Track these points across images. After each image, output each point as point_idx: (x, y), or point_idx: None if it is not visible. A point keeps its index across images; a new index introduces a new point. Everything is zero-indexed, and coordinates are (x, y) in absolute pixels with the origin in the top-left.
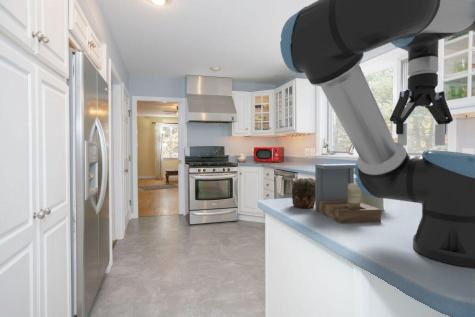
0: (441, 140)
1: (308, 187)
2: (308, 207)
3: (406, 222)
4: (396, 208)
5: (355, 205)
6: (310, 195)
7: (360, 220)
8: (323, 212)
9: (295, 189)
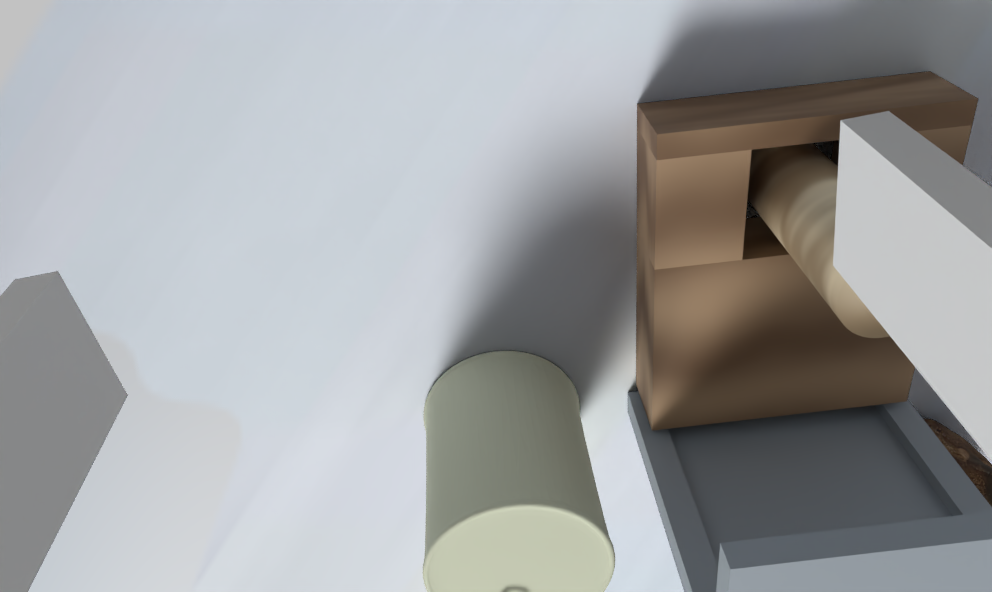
0: (32, 351)
1: None
2: None
3: (476, 76)
4: (329, 412)
5: (835, 171)
6: None
7: (790, 91)
8: None
9: None
